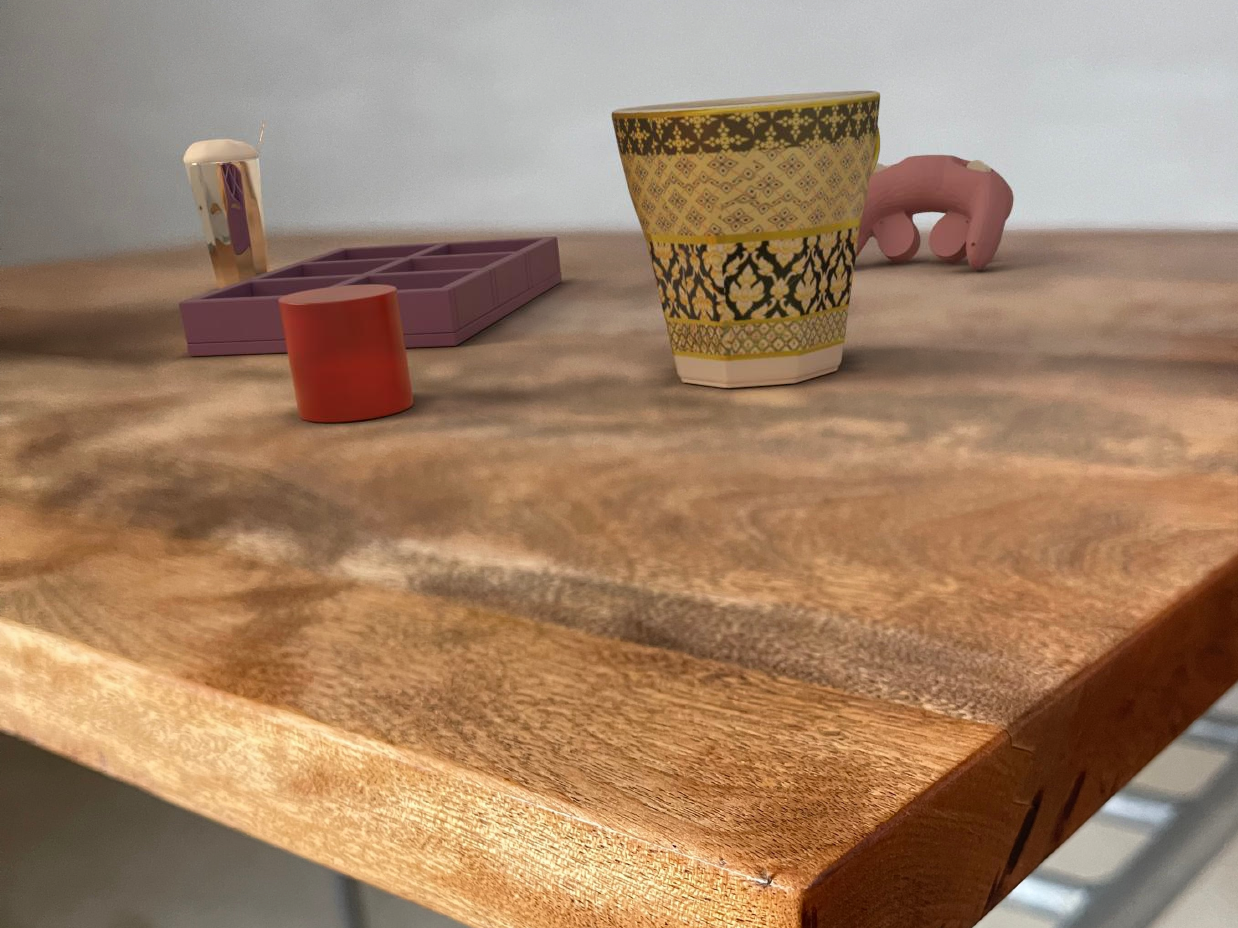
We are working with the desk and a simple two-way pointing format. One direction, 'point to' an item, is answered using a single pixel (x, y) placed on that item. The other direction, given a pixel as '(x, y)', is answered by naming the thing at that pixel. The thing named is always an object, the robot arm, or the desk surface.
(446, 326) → the purple compartment tray
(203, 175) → the milkshake
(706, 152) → the ceramic cup
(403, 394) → the red cylinder
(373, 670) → the desk surface
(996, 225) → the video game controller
